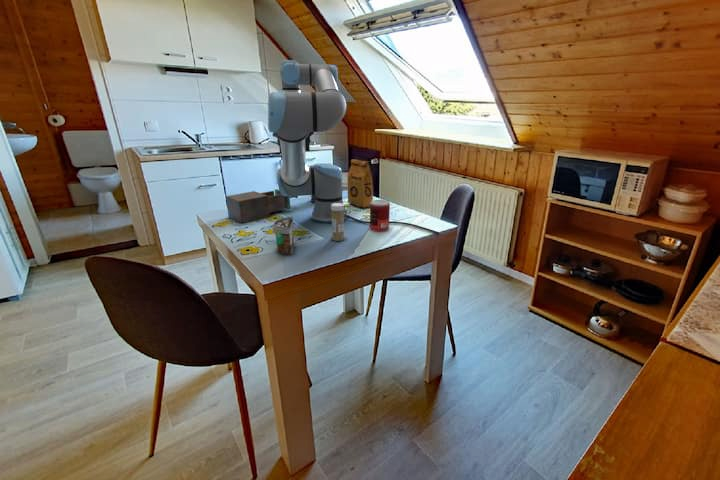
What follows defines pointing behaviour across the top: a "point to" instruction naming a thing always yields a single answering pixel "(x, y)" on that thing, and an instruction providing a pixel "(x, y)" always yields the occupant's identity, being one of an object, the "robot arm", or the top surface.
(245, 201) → the cabinet
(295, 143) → the robot arm
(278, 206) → the drawer
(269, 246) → the top surface
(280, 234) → the food container
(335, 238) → the sprinkles bottle
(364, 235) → the top surface
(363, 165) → the coffee package
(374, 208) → the canned food
